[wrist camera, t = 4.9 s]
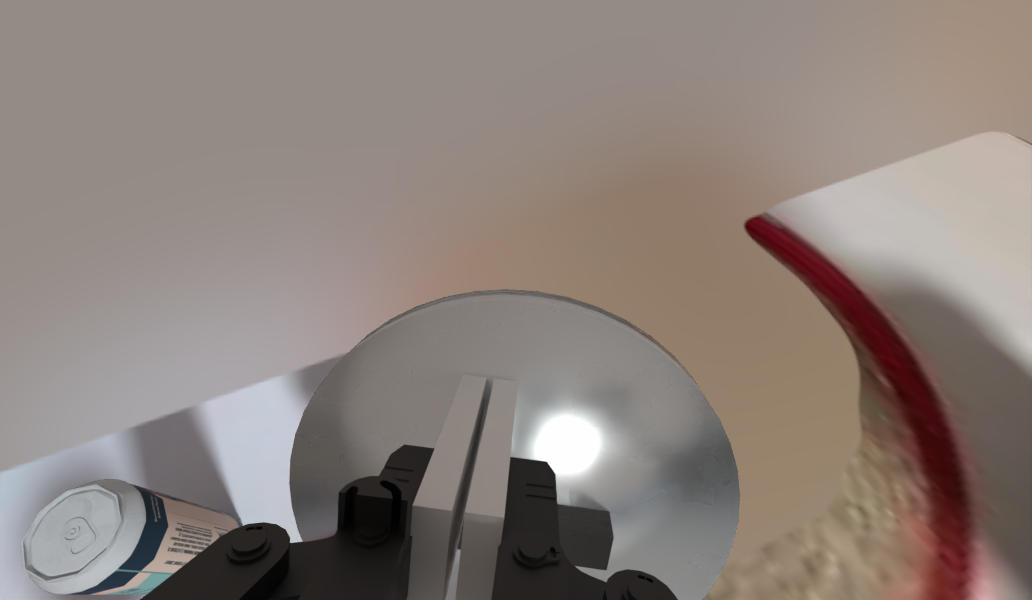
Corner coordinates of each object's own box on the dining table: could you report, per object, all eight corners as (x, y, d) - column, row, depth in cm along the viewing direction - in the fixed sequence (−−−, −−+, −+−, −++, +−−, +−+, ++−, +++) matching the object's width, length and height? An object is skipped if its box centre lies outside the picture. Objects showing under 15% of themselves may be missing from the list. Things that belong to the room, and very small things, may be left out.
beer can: (220, 496, 33) (100, 453, 23) (261, 547, 32) (152, 525, 22) (152, 556, 31) (-11, 537, 21) (193, 613, 30) (38, 622, 20)
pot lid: (780, 322, 16) (827, 357, 13) (671, 686, 21) (689, 764, 18) (300, 261, 16) (251, 283, 14) (309, 632, 21) (274, 701, 19)
